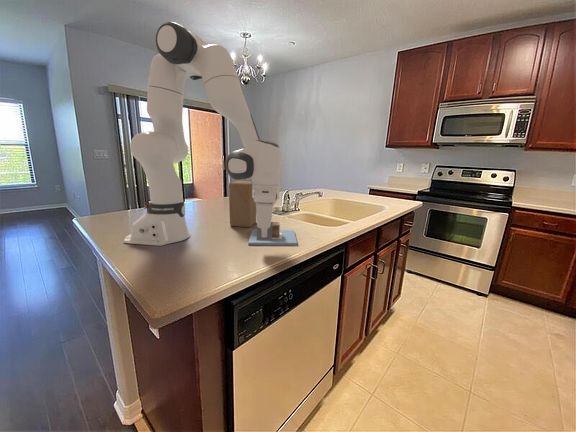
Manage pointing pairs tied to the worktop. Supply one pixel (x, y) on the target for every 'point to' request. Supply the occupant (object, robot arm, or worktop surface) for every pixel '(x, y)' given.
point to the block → (241, 204)
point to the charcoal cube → (269, 234)
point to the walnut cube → (275, 230)
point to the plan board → (284, 238)
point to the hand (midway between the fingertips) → (264, 233)
